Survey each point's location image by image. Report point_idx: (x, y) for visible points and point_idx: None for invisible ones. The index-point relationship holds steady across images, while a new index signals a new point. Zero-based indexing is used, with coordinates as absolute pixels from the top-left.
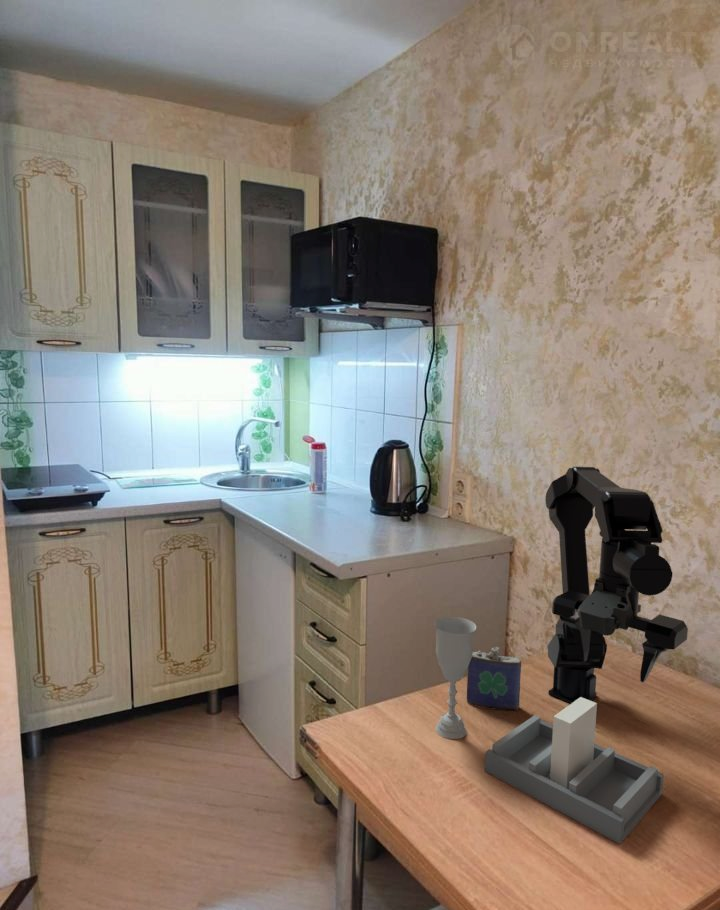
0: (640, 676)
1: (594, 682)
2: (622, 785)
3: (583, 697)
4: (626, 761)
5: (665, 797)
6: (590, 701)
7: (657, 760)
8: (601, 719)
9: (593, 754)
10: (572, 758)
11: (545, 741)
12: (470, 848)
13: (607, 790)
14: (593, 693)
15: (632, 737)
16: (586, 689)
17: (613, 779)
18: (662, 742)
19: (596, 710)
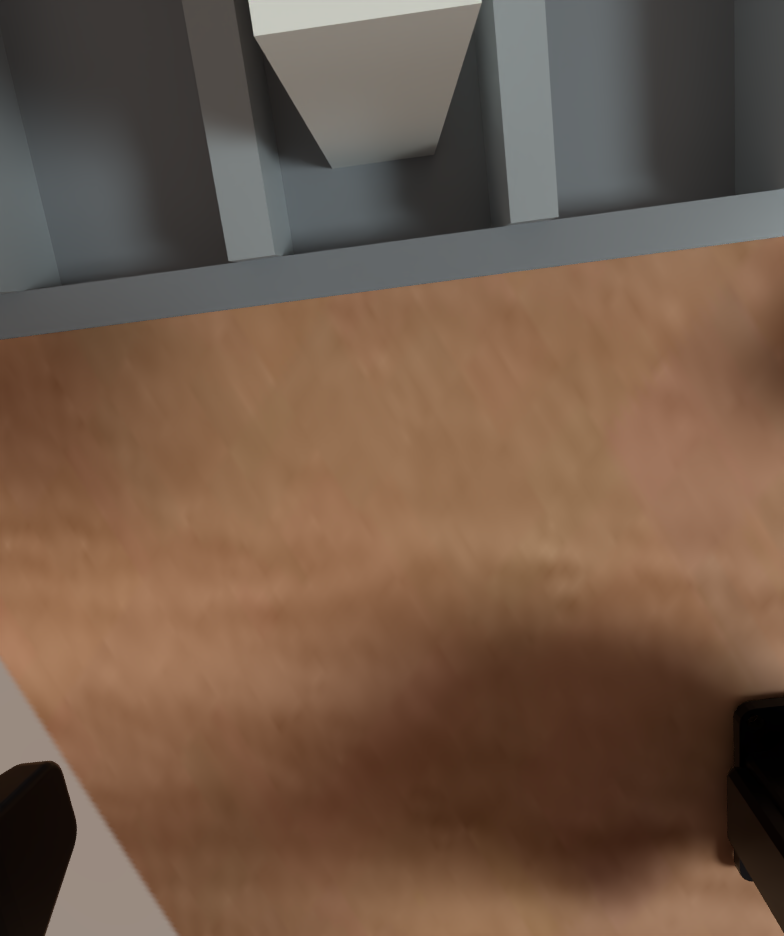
0: (8, 799)
1: (773, 897)
2: (137, 162)
3: (761, 768)
4: (164, 273)
5: None
6: (331, 4)
7: (215, 580)
8: (595, 688)
9: (323, 153)
10: None
11: (670, 168)
12: None
13: (151, 33)
14: (739, 838)
15: (401, 664)
16: (777, 814)
17: (198, 170)
18: (288, 738)
19: (269, 61)
